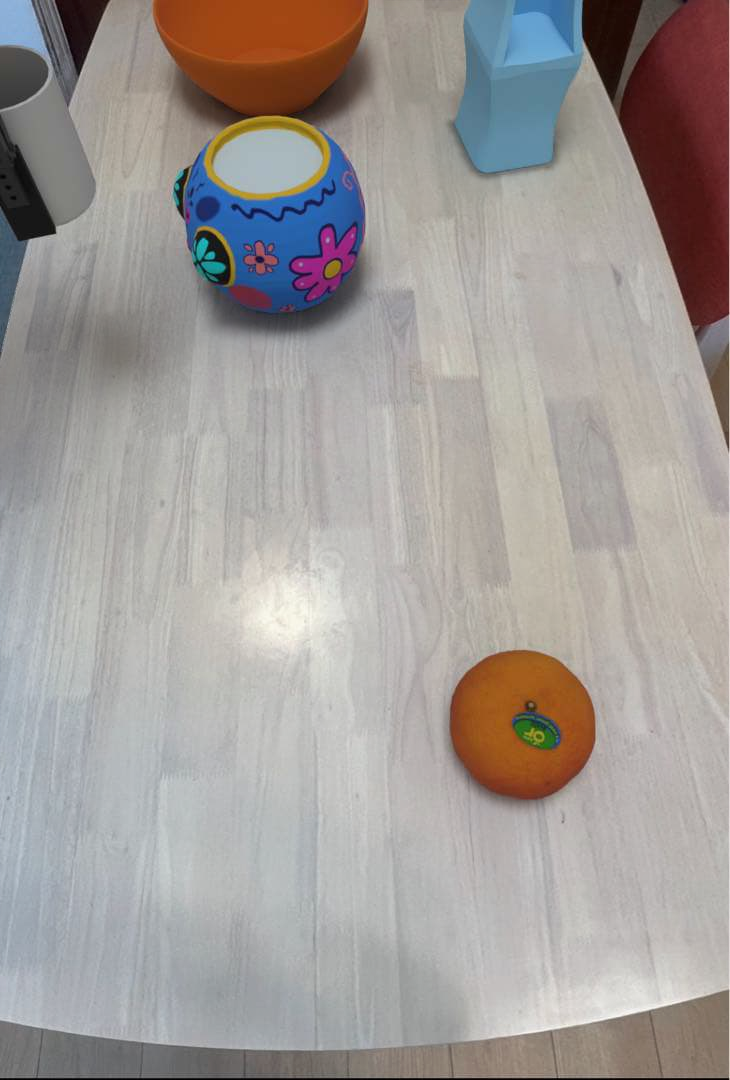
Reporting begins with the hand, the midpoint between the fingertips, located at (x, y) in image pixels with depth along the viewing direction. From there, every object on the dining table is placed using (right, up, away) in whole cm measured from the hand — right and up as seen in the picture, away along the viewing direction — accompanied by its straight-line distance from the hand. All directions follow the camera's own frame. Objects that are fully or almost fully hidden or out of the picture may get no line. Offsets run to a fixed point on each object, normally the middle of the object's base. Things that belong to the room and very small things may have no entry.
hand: (32, 197), depth 56 cm
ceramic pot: (+16, +2, +25) cm, 30 cm away
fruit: (+36, -41, +3) cm, 55 cm away
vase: (+42, +22, +35) cm, 59 cm away
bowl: (+13, +33, +41) cm, 54 cm away
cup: (0, 0, +1) cm, 1 cm away
